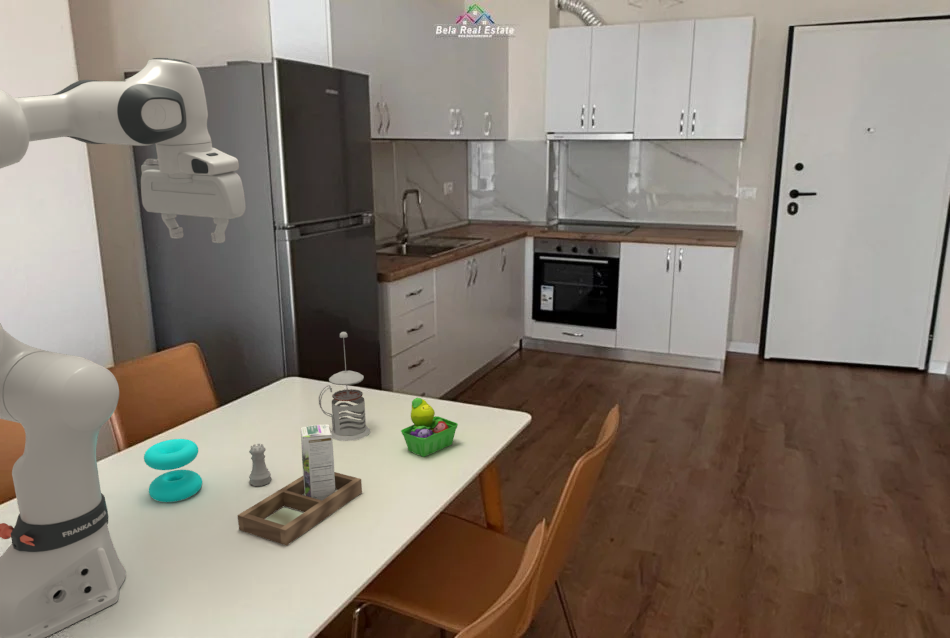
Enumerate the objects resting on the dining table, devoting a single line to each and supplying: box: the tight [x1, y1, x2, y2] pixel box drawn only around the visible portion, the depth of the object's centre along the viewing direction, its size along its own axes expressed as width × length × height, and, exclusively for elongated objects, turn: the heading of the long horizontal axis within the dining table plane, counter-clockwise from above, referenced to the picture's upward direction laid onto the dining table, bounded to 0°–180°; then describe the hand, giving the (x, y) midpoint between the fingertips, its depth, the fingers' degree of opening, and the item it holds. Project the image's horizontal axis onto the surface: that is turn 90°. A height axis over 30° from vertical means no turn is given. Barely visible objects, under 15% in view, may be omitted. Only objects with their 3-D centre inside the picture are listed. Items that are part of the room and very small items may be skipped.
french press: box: [318, 331, 371, 442], centre depth 169 cm, size 10×12×25 cm
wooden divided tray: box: [237, 471, 363, 547], centre depth 136 cm, size 21×11×3 cm, turn 151°
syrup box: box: [300, 424, 337, 500], centre depth 139 cm, size 6×6×14 cm
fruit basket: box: [400, 397, 459, 458], centre depth 162 cm, size 11×9×11 cm
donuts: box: [143, 438, 203, 503], centre depth 143 cm, size 10×10×10 cm
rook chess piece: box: [248, 443, 272, 487], centre depth 147 cm, size 4×4×8 cm
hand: (197, 240), depth 126 cm, fingers open, 8 cm apart
